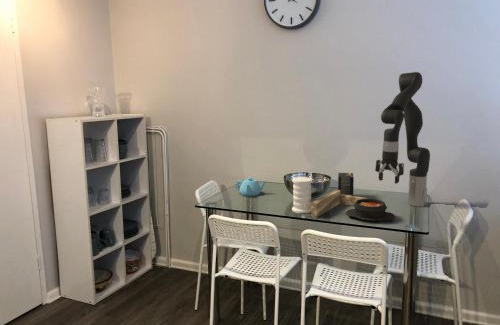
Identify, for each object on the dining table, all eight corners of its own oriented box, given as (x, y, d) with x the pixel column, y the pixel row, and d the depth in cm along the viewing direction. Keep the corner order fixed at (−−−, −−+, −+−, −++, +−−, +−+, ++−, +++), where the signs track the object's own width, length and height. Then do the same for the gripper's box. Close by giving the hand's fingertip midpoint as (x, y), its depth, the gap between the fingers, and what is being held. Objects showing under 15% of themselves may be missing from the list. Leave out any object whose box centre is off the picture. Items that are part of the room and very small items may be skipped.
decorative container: (308, 206, 240) (308, 176, 236) (315, 212, 228) (315, 180, 225) (289, 208, 237) (289, 177, 234) (295, 214, 226) (295, 182, 222)
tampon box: (353, 200, 249) (354, 176, 246) (337, 199, 251) (338, 176, 248) (352, 195, 259) (353, 172, 257) (337, 194, 261) (338, 172, 258)
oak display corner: (367, 206, 236) (367, 193, 235) (343, 223, 211) (343, 208, 209) (337, 201, 247) (337, 188, 246) (311, 216, 222) (311, 202, 220)
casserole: (396, 214, 221) (397, 199, 219) (392, 226, 205) (393, 210, 203) (349, 210, 231) (349, 195, 230) (342, 220, 215) (342, 205, 213)
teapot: (252, 189, 279) (252, 174, 277) (267, 194, 268) (266, 177, 265) (234, 193, 270) (233, 177, 268) (248, 198, 259) (247, 181, 256)
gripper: (407, 150, 203) (405, 183, 206) (381, 147, 213) (379, 178, 216) (399, 152, 198) (397, 185, 201) (373, 149, 208) (371, 180, 212)
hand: (388, 181), depth 209 cm, fingers open, 8 cm apart
